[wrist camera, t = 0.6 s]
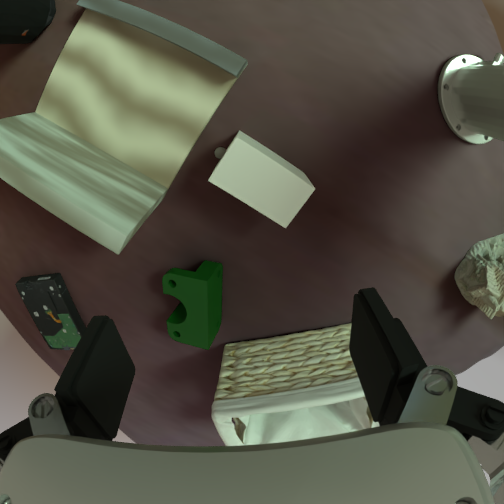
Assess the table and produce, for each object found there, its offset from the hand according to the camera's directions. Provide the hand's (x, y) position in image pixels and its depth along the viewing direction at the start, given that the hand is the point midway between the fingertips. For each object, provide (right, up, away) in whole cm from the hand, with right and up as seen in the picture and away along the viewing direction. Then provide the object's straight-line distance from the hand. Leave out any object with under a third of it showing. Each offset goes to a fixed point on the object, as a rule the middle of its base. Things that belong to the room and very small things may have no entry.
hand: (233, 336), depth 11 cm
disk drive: (-33, -7, +35) cm, 49 cm away
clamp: (-7, -2, +32) cm, 33 cm away
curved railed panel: (-14, +22, +19) cm, 32 cm away
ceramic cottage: (+42, +1, +30) cm, 52 cm away
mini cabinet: (+2, +13, +24) cm, 27 cm away
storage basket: (+8, -15, +39) cm, 42 cm away
